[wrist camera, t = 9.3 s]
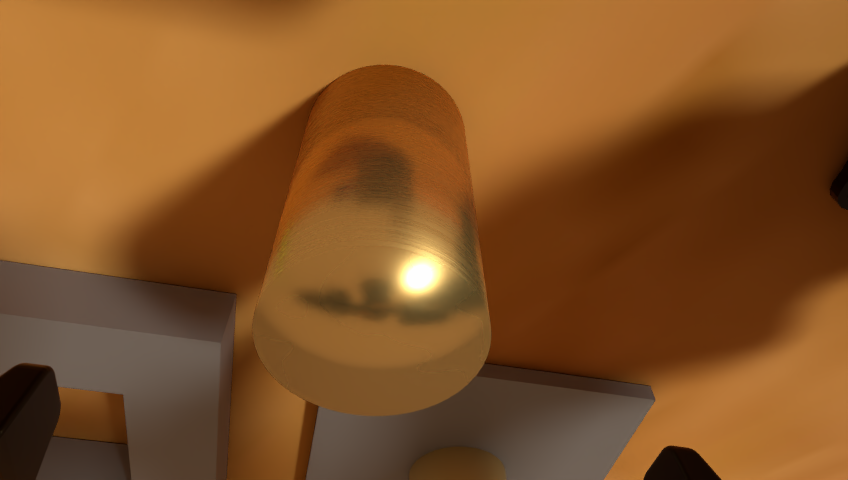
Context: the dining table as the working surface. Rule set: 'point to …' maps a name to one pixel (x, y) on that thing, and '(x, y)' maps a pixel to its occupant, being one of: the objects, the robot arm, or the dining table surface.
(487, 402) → the board
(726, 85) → the dining table surface
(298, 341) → the pin
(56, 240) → the dining table surface
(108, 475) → the socket board
